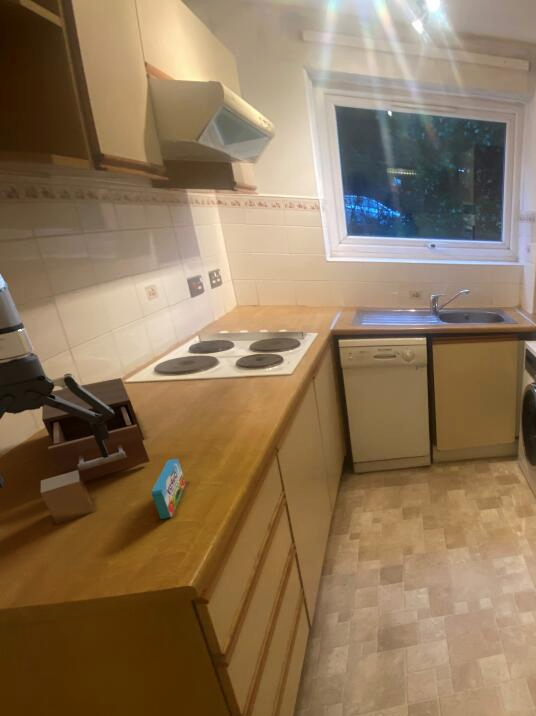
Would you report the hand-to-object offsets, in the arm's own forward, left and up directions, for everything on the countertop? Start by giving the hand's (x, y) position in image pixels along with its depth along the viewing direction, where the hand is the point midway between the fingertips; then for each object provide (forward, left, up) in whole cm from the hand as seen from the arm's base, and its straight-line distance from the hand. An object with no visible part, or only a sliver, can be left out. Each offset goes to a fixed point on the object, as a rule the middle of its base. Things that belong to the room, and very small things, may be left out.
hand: (55, 469), depth 78 cm
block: (0, 0, -9) cm, 9 cm away
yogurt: (+14, -9, -10) cm, 19 cm away
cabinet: (+6, +35, -9) cm, 37 cm away
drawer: (+6, +16, -8) cm, 19 cm away
